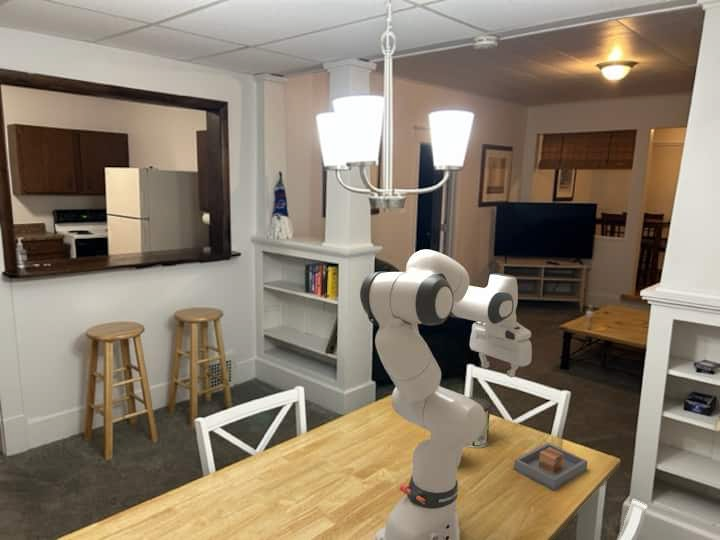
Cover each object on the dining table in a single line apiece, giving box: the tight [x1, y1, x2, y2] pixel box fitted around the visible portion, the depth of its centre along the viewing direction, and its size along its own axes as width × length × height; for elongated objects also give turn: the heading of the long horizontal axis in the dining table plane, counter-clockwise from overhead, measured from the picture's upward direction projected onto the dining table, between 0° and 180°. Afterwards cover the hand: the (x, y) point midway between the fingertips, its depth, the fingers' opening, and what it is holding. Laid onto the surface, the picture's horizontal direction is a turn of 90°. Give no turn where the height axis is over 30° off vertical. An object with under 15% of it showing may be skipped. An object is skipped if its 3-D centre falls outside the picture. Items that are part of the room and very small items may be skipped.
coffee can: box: [465, 396, 491, 449], centre depth 180 cm, size 10×10×14 cm
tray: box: [513, 442, 588, 492], centre depth 162 cm, size 18×14×4 cm
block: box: [539, 447, 563, 474], centre depth 162 cm, size 5×5×5 cm
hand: (497, 371), depth 155 cm, fingers open, 8 cm apart
